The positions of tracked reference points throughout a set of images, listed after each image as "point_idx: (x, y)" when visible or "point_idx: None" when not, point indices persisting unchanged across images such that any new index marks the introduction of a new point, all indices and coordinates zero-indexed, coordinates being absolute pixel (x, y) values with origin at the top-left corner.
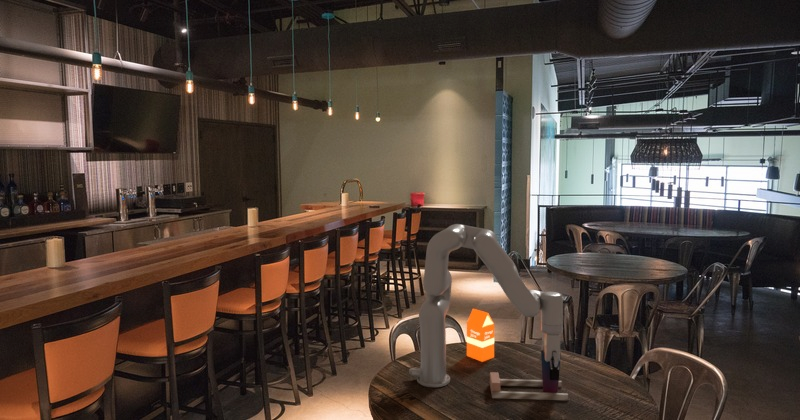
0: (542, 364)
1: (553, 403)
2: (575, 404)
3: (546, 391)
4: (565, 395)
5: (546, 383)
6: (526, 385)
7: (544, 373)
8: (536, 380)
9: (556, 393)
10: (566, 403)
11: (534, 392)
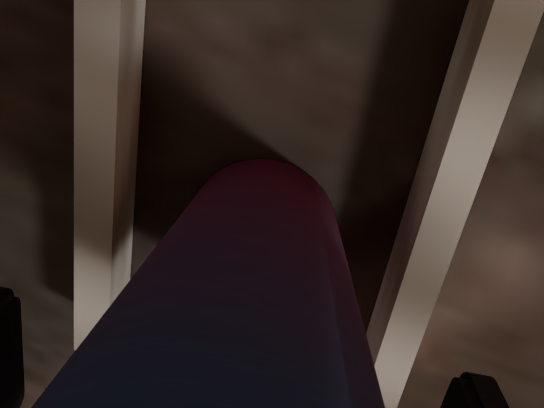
0: (146, 391)
1: (28, 171)
2: (30, 338)
3: (206, 185)
4: (75, 323)
5: (174, 225)
6: (469, 14)
7: (148, 282)
8: (467, 164)
9: (99, 260)
10: (40, 281)
11: (115, 11)
